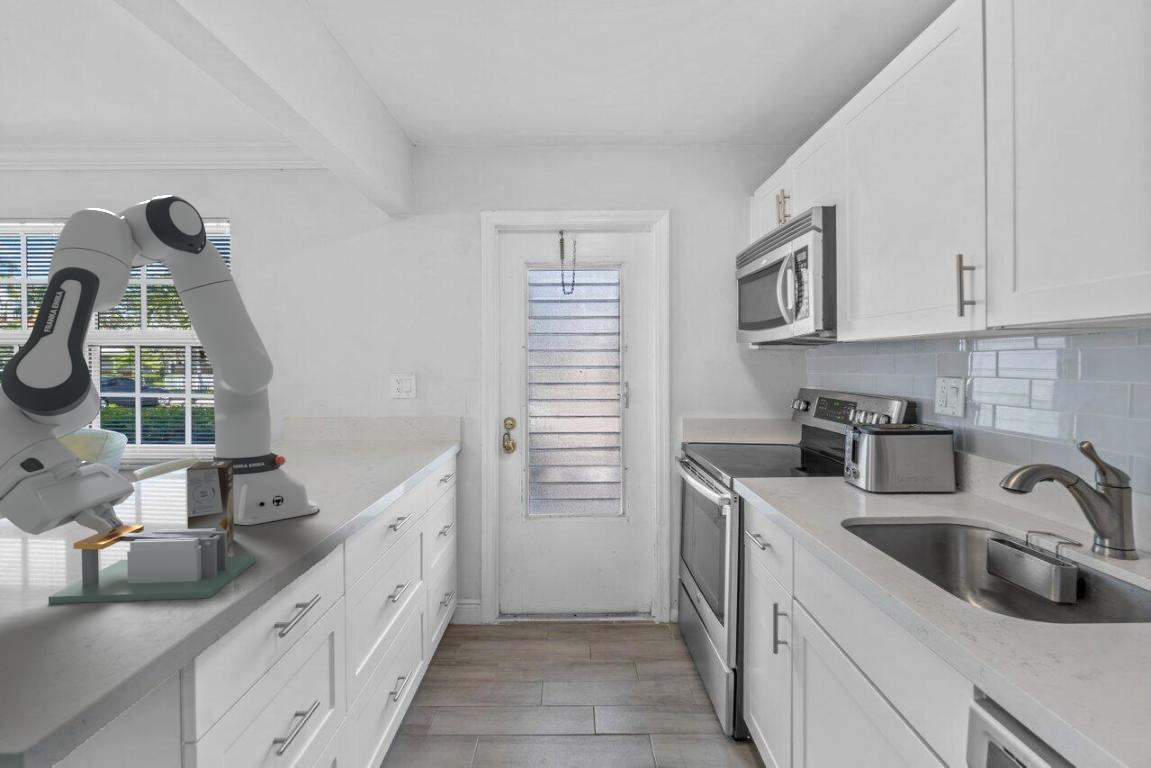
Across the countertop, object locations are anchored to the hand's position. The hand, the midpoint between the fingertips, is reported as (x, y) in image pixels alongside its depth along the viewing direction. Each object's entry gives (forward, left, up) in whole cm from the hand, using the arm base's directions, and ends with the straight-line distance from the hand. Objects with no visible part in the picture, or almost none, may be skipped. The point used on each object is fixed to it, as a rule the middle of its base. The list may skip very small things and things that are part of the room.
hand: (114, 530), depth 93 cm
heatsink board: (-6, +4, -8) cm, 11 cm away
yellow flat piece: (-5, +3, -2) cm, 6 cm away
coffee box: (-14, -11, -9) cm, 20 cm away
